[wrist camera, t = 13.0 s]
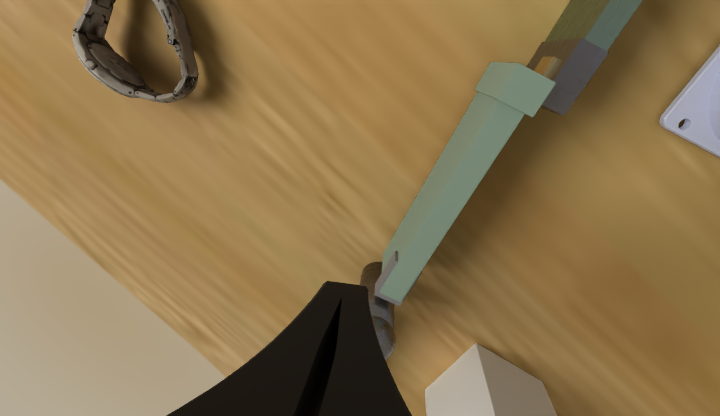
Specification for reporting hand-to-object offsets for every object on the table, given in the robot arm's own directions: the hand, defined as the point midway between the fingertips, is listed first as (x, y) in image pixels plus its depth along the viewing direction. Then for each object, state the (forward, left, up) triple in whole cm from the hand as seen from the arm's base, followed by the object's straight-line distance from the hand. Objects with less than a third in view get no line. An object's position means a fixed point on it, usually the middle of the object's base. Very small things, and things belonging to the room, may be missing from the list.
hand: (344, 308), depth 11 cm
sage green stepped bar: (-3, -3, -10) cm, 11 cm away
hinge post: (-3, +10, -10) cm, 15 cm away
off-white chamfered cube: (-14, +10, -11) cm, 20 cm away
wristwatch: (+12, -4, -9) cm, 16 cm away
